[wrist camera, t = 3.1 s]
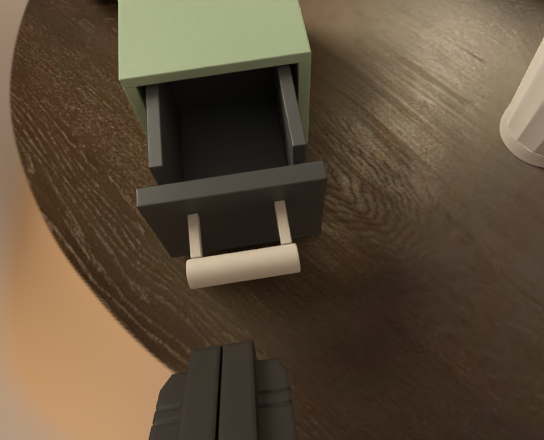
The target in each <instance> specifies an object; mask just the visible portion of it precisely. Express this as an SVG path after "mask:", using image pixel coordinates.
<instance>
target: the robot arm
mask: <svg viewBox="0 0 544 440" xmlns="http://www.w3.org/2000/svg"><path fill="white" fill-rule="evenodd" d="M149 440H298V435H297V429H296V422H295V416H294V410H293V403H292V397H291V390H290V384H289V378H288V371H287V369H286V368H285V367H284V366H283V365H282V363H281V362H280V361H279V360H278V359H277V358H273V359H266V360H260V361H257V358H256V353H255V347H254V343H253V340H251V341H245V342H239V343H232V344H226V345H223V347H222V345H221V346H214V347H208V348H202V349H195V350H192V351H191V355H190V362H189V368H188V372H186V373H179V374H173V375H171V377H170V378H169V380H168V381H167V382H166V383H165V385H164V386H163V388H162V389H161V390H160V393H159V397H158V401H157V406H156V411H155V414H154V419H153V426H152V427H151V432H150V436H149Z"/></svg>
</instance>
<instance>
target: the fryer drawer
mask: <svg viewBox="0 0 544 440" xmlns="http://www.w3.org/2000/svg"><path fill="white" fill-rule="evenodd" d="M146 105H147V131H148V157H149V169H150V170H151V172H152V174H153V176H154V178H155V180H156V181H157V183H158V186H151V187H144V188H138V189H136V202H137V208H138V210H139V211H140V213H141V214H142V215H143V217H144V218H145V220H146V221H147V223H148V224H149V226H150V227H151V228H152V230H153V231H154V233H155V234H156V236H157V237H158V239H159V240H160V241H161V243H162V244H163V246H164V247H165V249H166V250H167V252H168V253H169V254H170V256H171V257H172V258H173V257H179V256H186V255H191V259H190V260H187V262H186V273H187V279H188V284H189V286H190V288H191V289H196V288H202V287H209V286H215V285H221V284H228V283H234V282H241V281H247V280H254V279H260V278H266V277H273V276H279V275H286V274H292V273H299V272H300V261H299V254H298V249H297V245H296V244H295V243H293V244H292V240H291V239H296V238H302V237H309V236H315V235H320V234H321V226H322V218H323V209H324V201H325V192H326V183H327V175H326V170H325V166H324V162H323V161H316V162H310V163H306V140H305V135H304V131H303V126H302V121H301V117H300V112H299V107H298V103H297V98H296V93H295V88H294V84H293V79H292V74H291V70H290V65H289V64H286V65H280V66H273V67H266V68H259V69H252V70H246V71H239V72H232V73H225V74H218V75H212V76H205V77H198V78H191V79H185V80H178V81H171V82H164V83H157V84H151V85H146ZM276 241H281V245H280V246H274V247H268V248H261V249H255V250H248V251H242V252H235V253H229V254H222V255H216V256H209V257H203V253H205V252H212V251H218V250H225V249H231V248H238V247H244V246H251V245H257V244H264V243H270V242H276Z"/></svg>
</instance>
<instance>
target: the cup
mask: <svg viewBox="0 0 544 440" xmlns="http://www.w3.org/2000/svg"><path fill="white" fill-rule="evenodd" d="M500 135H501V138H502V140H503V142H504V144H505V145H506V147H507V148H508V149H509V150H510V151H511V152H512V153H513V154H514V155H515V156H516V157H518V158H519V159H521V160H523V161H524V162H527V163H529V164H531V165H534V166H538V167H543V168H544V38H543V40H542V42H541V44H540V46H539V48H538V50H537V52H536V54H535V56H534V58H533V60H532V62H531V64H530V66H529V68H528V70H527V72H526V74H525V76H524V78H523V80H522V82H521V84H520V86H519V88H518V90H517V92H516V94H515V96H514V98H513V100H512V102H511V103H510V105H509V106H508V108H507V109H506V111H505V112H504V114H503V116H502V118H501V120H500Z"/></svg>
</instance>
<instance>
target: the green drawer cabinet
mask: <svg viewBox="0 0 544 440" xmlns="http://www.w3.org/2000/svg"><path fill="white" fill-rule="evenodd" d="M118 33H119V81H120V83H121V85H122V87H123V89H124V91H125V93H126V95H127V97H128V99H129V101H130V103H131V105H132V107H133V109H134V111H135V113H136V115H137V117H138V119H139V122H140V124H141V126H142V128H143V130H144V132H145V134H146V136H147V138H148V131H147V105H146V85H151V84H157V83H164V82H171V81H178V80H185V79H191V78H198V77H205V76H212V75H218V74H225V73H232V72H239V71H246V70H252V69H259V68H266V67H273V66H280V65H286V64H289V65H290V70H291V74H292V79H293V84H294V88H295V93H296V98H297V103H298V107H299V112H300V117H301V121H302V126H303V131H304V135H305V140H306V143H308V126H309V100H310V73H311V49H310V44H309V40H308V36H307V32H306V28H305V24H304V20H303V16H302V12H301V8H300V3H299V0H118Z"/></svg>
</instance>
